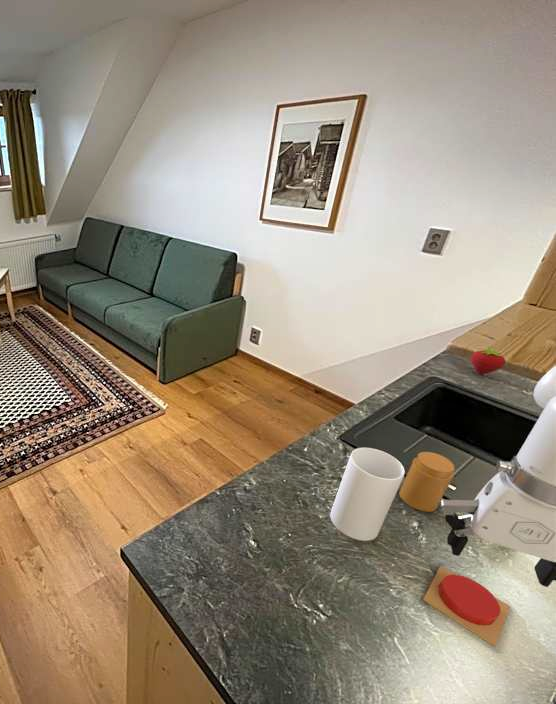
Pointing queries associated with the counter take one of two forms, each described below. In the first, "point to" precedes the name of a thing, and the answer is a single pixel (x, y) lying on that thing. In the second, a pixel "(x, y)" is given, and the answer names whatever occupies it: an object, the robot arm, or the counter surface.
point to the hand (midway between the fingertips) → (495, 562)
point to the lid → (469, 600)
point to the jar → (427, 481)
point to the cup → (366, 493)
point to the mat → (483, 631)
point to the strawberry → (487, 361)
